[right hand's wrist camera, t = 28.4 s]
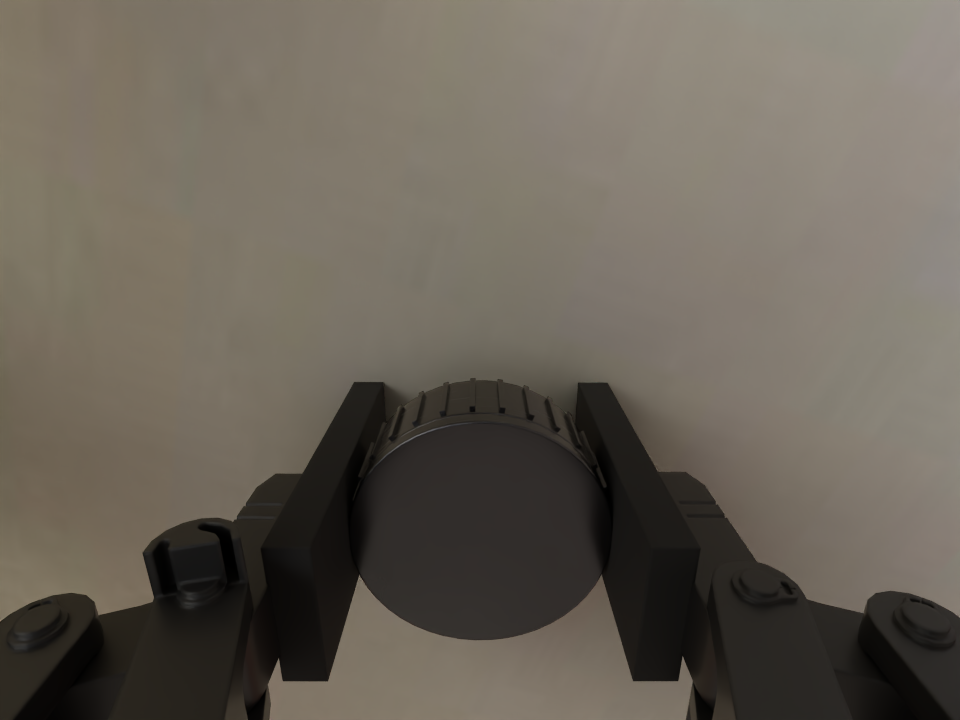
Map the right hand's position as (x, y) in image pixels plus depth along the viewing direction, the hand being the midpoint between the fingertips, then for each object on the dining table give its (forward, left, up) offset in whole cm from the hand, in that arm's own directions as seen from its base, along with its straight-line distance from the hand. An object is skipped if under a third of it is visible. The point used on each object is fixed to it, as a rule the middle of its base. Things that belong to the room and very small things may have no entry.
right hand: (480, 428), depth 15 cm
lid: (0, 0, +4) cm, 4 cm away
